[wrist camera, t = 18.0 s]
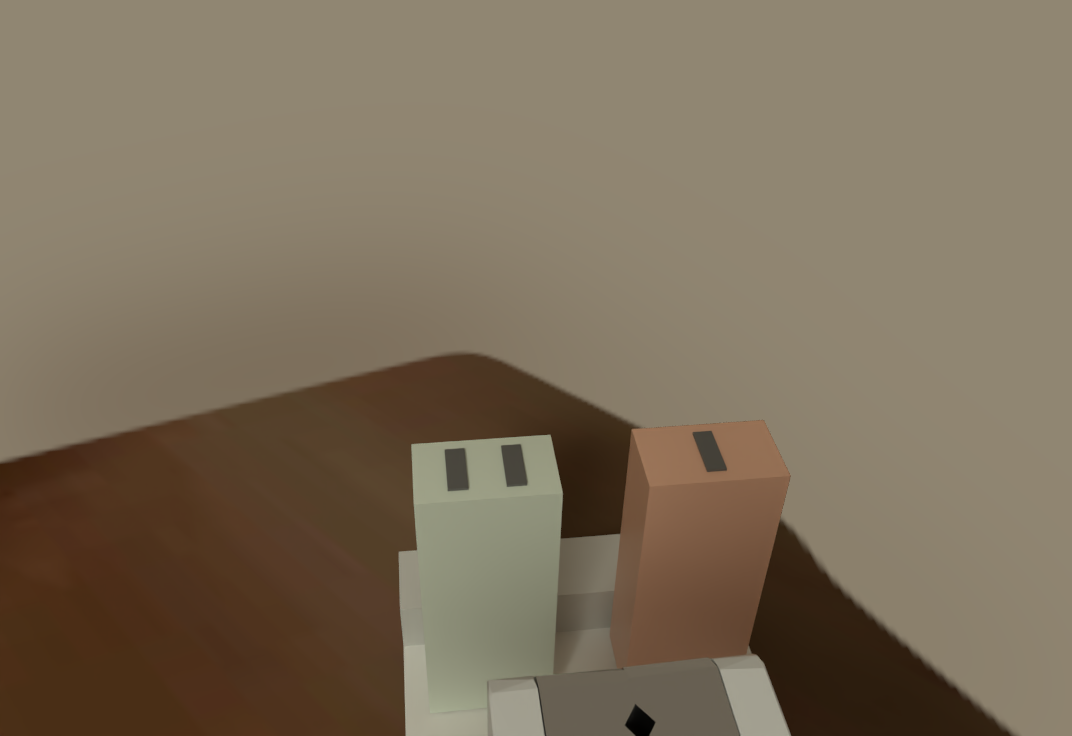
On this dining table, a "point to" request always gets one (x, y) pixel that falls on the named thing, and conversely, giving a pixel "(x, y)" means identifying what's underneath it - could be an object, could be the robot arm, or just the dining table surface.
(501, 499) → the pale green tall block
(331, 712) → the dining table surface
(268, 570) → the dining table surface
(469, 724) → the tile board
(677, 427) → the orange-brown upright block
